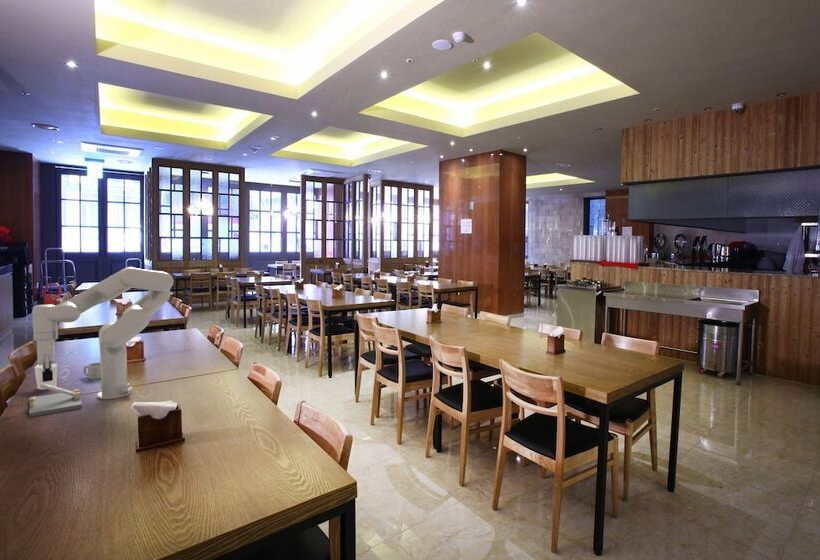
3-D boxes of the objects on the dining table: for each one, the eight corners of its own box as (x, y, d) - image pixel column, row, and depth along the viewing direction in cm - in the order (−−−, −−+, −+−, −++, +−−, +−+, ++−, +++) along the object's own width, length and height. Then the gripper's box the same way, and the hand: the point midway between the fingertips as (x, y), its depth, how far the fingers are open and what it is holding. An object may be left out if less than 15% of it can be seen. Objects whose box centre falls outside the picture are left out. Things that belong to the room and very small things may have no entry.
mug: (108, 375, 222) (107, 362, 222) (97, 379, 216) (97, 366, 215) (89, 375, 223) (89, 362, 223) (78, 379, 217) (77, 365, 216)
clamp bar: (77, 396, 188) (79, 392, 188) (77, 398, 186) (79, 394, 186) (39, 385, 180) (42, 382, 180) (39, 387, 177) (42, 383, 178)
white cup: (48, 390, 199) (47, 368, 199) (31, 390, 200) (29, 368, 199) (62, 384, 207) (61, 363, 206) (45, 384, 207) (44, 363, 207)
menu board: (78, 393, 196) (77, 384, 195) (81, 407, 179) (81, 397, 178) (30, 401, 186) (29, 391, 185) (29, 417, 169) (28, 406, 168)
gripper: (33, 333, 182) (35, 378, 183) (33, 339, 171) (35, 387, 172) (57, 331, 187) (59, 374, 188) (58, 337, 175) (60, 383, 177)
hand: (47, 380), depth 180 cm, fingers closed
